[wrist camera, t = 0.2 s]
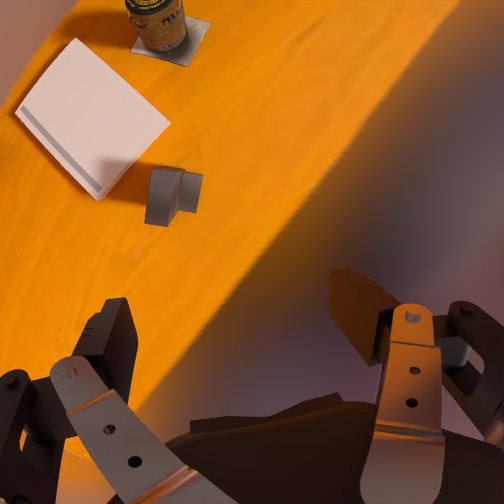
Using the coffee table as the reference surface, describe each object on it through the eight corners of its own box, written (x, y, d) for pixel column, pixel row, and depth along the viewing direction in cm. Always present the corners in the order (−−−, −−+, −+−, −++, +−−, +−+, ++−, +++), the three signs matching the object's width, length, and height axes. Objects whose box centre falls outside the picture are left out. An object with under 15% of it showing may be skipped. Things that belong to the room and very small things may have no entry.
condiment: (154, 9, 30) (137, -35, 18) (210, 23, 32) (211, -22, 20) (130, 52, 31) (102, 17, 20) (187, 67, 33) (178, 32, 22)
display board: (25, 114, 31) (14, 112, 28) (83, 43, 30) (75, 37, 27) (104, 197, 37) (96, 200, 34) (171, 123, 35) (167, 120, 32)
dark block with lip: (165, 166, 37) (150, 168, 28) (203, 172, 38) (200, 176, 29) (158, 208, 38) (142, 223, 29) (195, 214, 39) (190, 231, 30)
